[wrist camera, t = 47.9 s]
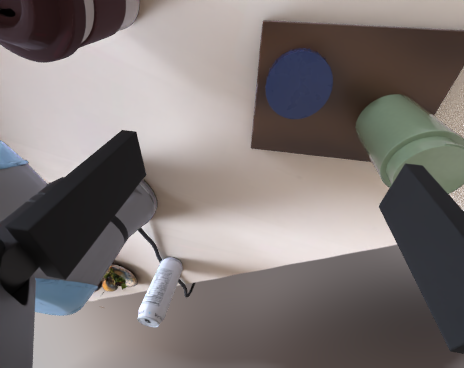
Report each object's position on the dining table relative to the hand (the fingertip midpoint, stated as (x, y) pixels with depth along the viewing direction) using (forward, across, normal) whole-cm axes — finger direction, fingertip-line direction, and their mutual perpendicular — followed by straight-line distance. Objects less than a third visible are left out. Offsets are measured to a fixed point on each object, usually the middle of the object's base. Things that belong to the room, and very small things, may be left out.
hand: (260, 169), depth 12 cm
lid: (+19, +3, -1) cm, 20 cm away
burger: (+23, -37, -59) cm, 74 cm away
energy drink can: (+23, -19, -49) cm, 57 cm away
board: (+22, +10, -3) cm, 24 cm away
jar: (+21, +16, -5) cm, 27 cm away
